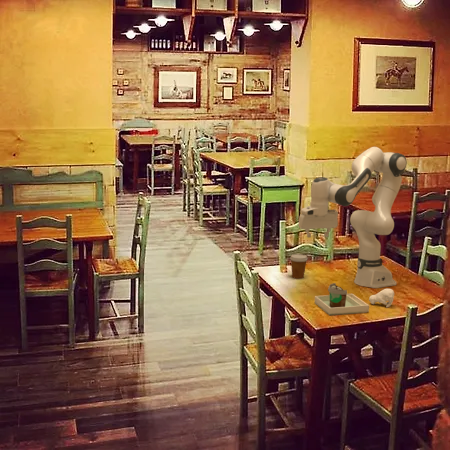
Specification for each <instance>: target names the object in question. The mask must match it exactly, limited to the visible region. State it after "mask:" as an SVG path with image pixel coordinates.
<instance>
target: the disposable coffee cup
mask: <svg viewBox="0 0 450 450" xmlns="http://www.w3.org/2000/svg"><path fill="white" fill-rule="evenodd" d="M289 260H290V264H291V265H290V266H291V267H290V268H291V276H292V278H293V279H297V280H299V279H301V280H302V279H304V276H305V272H306V265H307V261H308V256H307V255H305V254H301V253H294V254H291V256H290V258H289Z"/></svg>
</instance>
